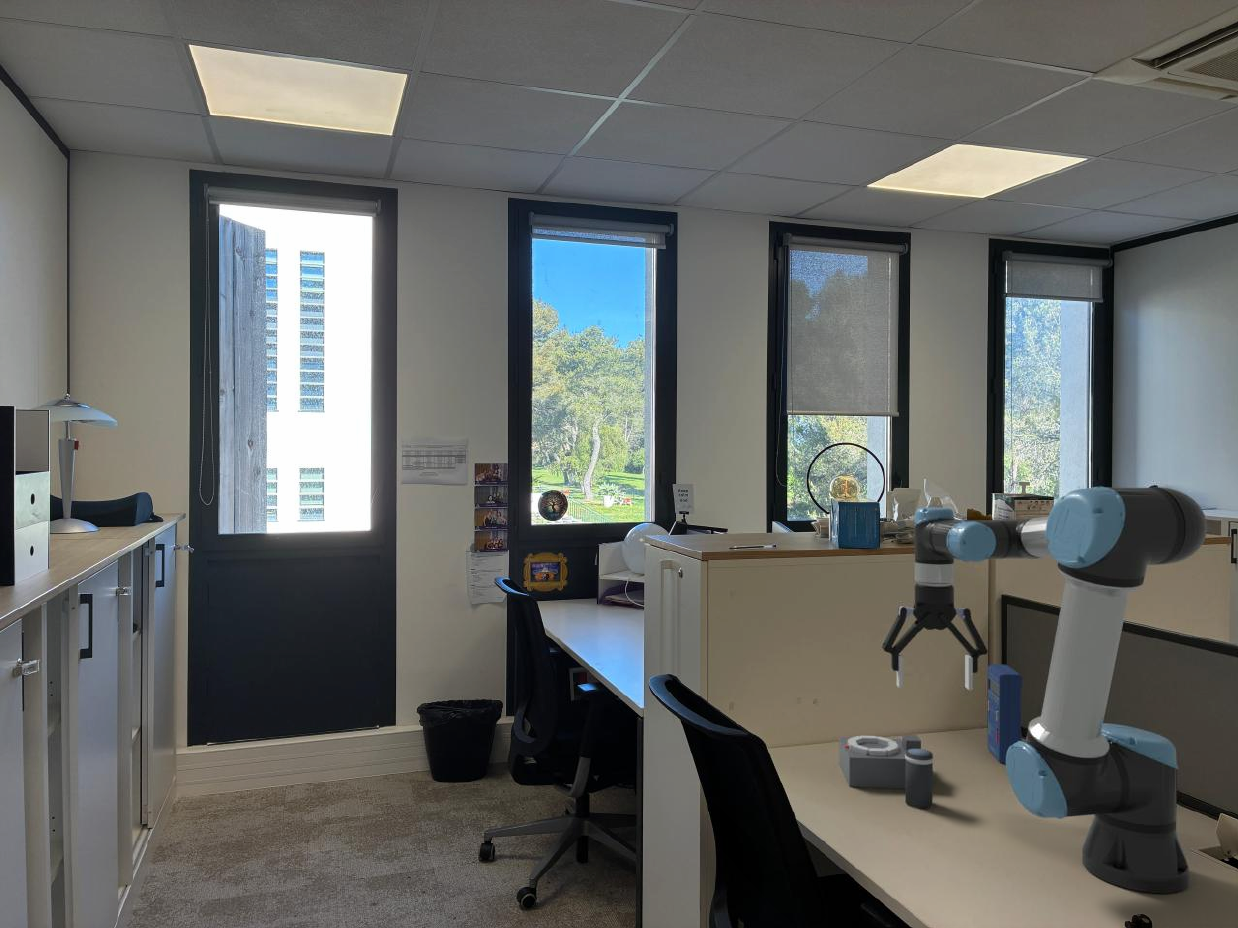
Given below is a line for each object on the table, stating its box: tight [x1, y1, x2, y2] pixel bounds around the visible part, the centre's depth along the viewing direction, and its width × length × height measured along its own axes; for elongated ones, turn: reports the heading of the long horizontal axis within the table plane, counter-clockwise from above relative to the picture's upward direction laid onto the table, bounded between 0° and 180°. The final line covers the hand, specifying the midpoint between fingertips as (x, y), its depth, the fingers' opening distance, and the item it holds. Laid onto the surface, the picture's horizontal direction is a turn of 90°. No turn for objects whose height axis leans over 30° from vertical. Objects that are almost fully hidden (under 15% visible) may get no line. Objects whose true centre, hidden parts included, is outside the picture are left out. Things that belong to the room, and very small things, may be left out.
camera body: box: [838, 734, 922, 789], centre depth 187 cm, size 13×16×8 cm
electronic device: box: [987, 664, 1023, 765], centre depth 199 cm, size 10×5×20 cm, turn 173°
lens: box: [905, 748, 934, 810], centre depth 173 cm, size 5×5×10 cm
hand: (934, 687), depth 179 cm, fingers open, 13 cm apart
